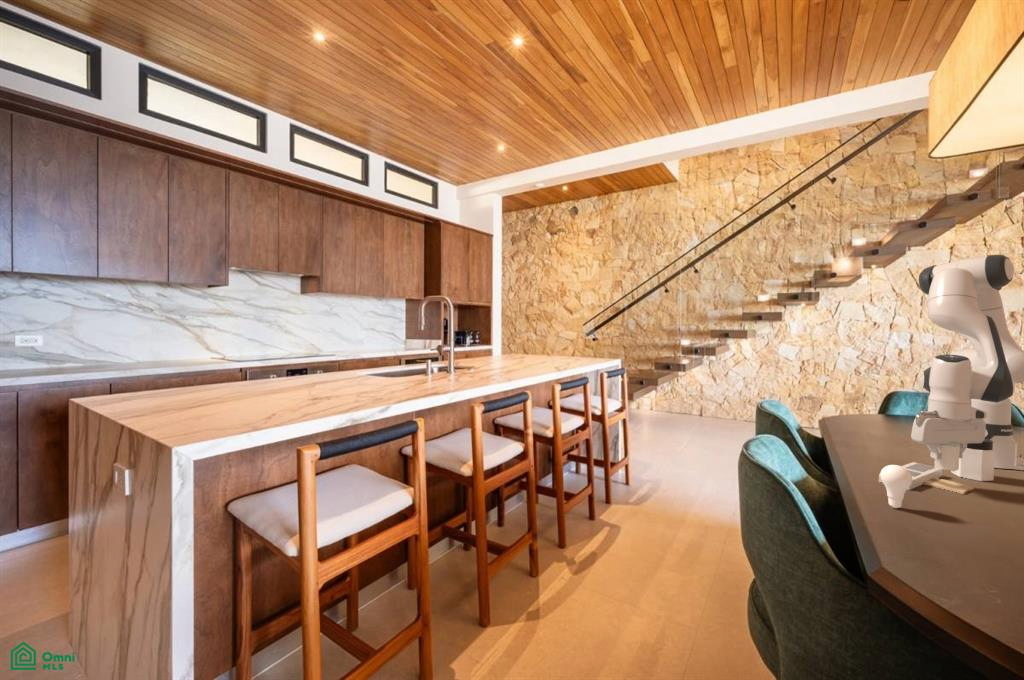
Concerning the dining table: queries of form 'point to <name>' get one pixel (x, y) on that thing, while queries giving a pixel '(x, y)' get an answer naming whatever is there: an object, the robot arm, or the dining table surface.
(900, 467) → the lightbulb
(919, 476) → the power strip
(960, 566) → the dining table surface
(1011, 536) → the dining table surface
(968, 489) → the coaster
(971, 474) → the jar
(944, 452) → the block
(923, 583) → the dining table surface
